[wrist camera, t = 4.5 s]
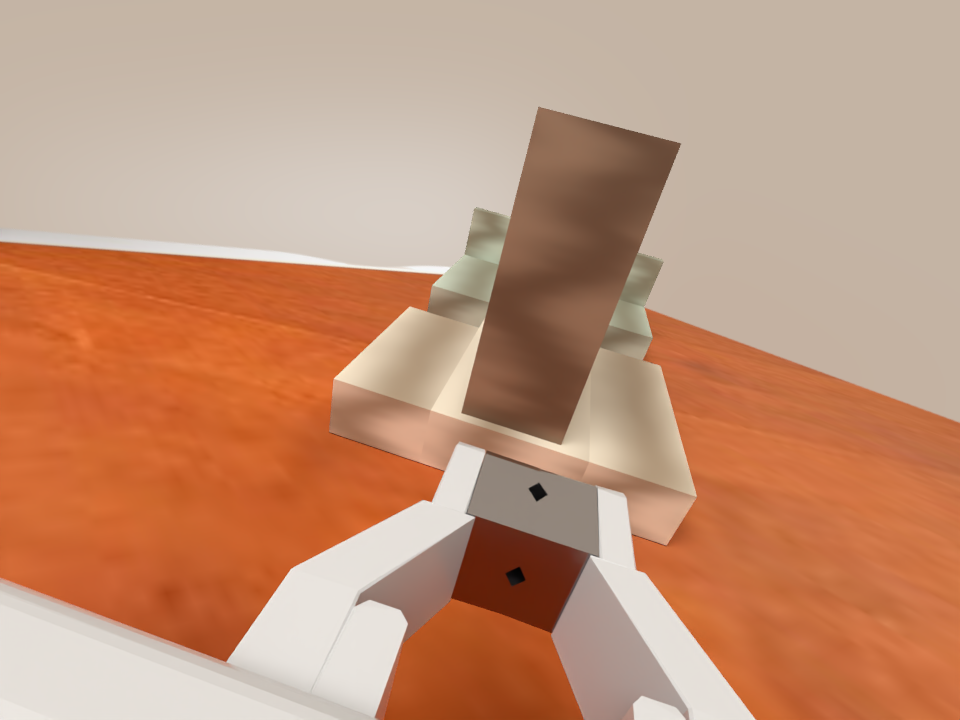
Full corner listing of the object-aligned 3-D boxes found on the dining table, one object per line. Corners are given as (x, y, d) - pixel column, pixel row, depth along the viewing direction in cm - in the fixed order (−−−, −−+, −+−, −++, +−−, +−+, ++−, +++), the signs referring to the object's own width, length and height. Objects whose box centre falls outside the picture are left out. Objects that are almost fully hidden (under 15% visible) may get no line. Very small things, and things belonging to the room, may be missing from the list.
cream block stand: (329, 432, 22) (340, 294, 18) (460, 283, 43) (476, 207, 39) (666, 545, 20) (745, 419, 17) (630, 334, 41) (662, 259, 38)
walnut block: (461, 413, 20) (538, 106, 14) (498, 333, 28) (558, 115, 22) (561, 445, 20) (681, 143, 14) (570, 355, 28) (650, 139, 22)
